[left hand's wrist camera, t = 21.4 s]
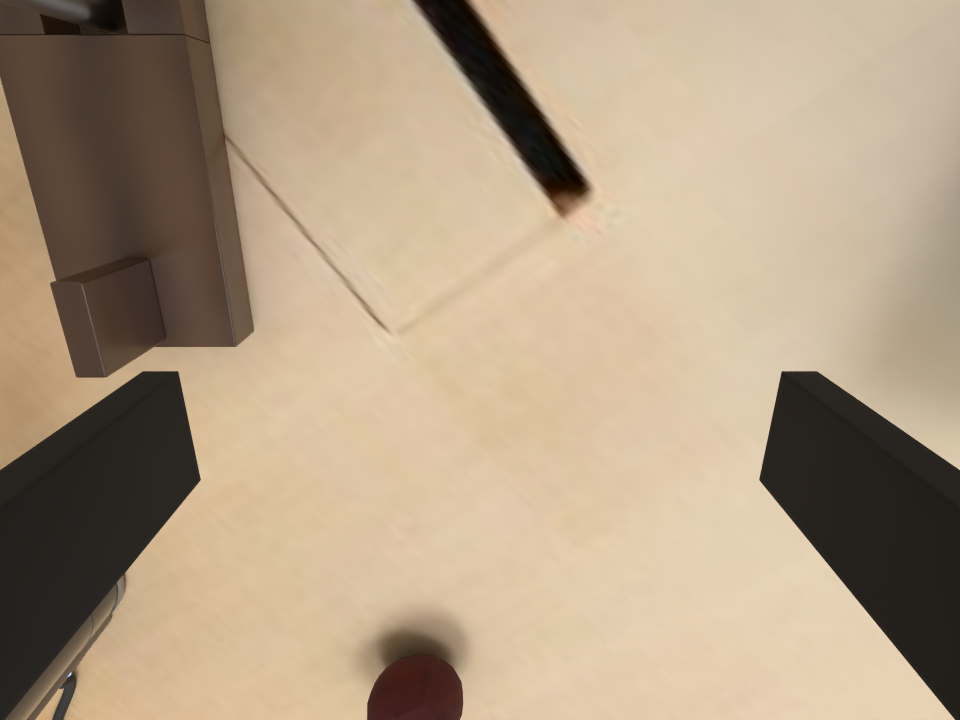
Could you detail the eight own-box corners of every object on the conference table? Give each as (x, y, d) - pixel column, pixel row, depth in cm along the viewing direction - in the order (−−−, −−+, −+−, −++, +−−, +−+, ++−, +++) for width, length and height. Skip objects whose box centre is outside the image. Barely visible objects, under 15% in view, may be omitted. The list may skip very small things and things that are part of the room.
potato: (358, 659, 48) (339, 741, 42) (433, 620, 47) (425, 699, 40) (410, 710, 50) (399, 796, 44) (483, 674, 49) (483, 757, 42)
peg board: (186, -114, 29) (68, -216, 21) (254, 331, 38) (190, 387, 29) (-9, -114, 29) (-206, -216, 21) (103, 332, 38) (-4, 387, 29)
